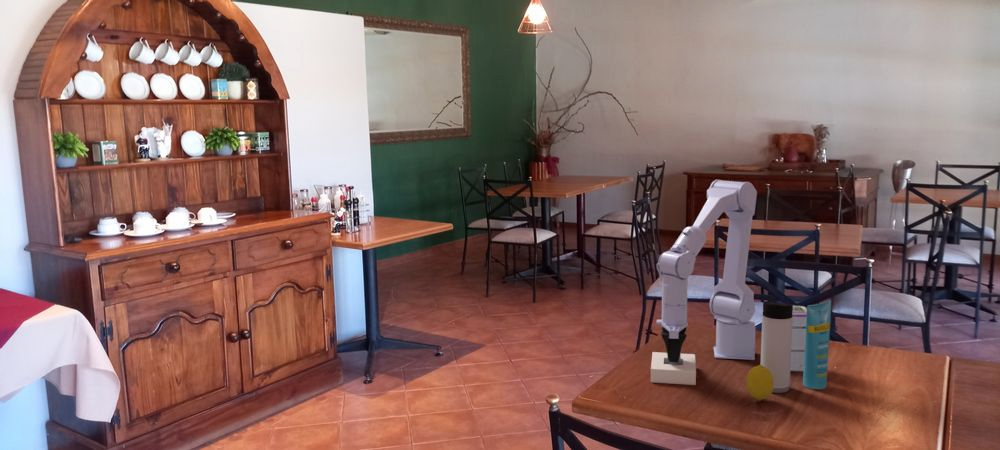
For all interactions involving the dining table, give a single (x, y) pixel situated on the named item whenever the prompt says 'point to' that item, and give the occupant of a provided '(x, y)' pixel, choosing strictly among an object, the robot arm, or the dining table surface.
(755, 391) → the lemon
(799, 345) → the syrup box
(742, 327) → the robot arm
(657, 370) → the bore block
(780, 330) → the travel mug
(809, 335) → the tube
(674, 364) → the dowel
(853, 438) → the dining table surface
